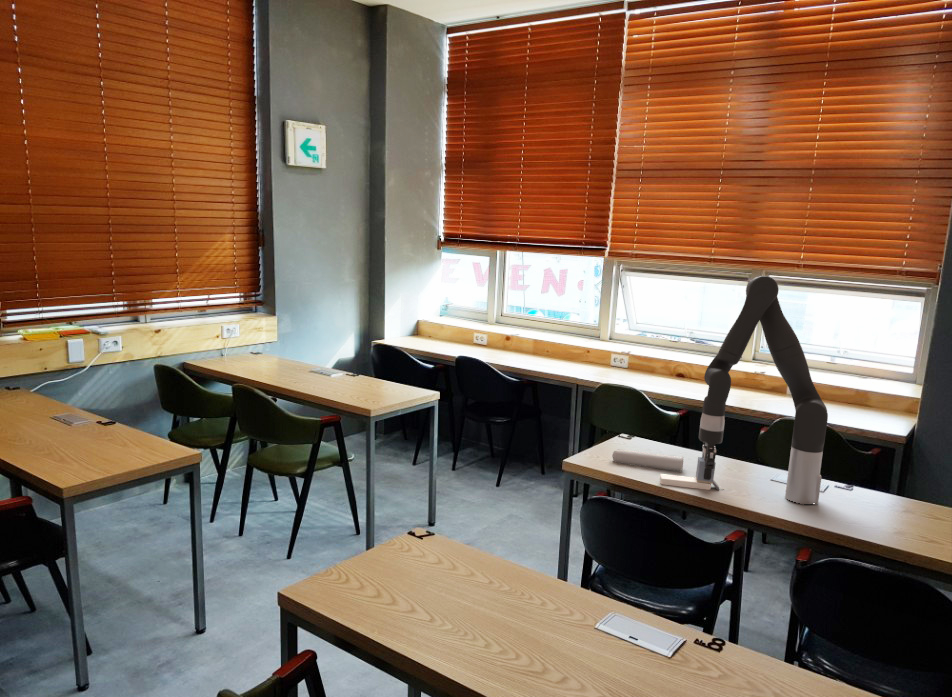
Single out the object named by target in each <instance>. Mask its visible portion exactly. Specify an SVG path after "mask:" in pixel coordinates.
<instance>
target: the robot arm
mask: <svg viewBox="0 0 952 697" xmlns="http://www.w3.org/2000/svg"><path fill="white" fill-rule="evenodd" d="M778 294H779V286H778V282H777V281H776V279H774V278H773V277H772V276H768V275H759V276H756V277H754V278H752V279H750V281H749V282H748V283H747V285H746V288H745V295H746V298H745V301H744V303H743V306H742V308H741V310H740V313H739V315H738V317H737V319H736V320H735V322H734V323H733V324H732V326H731V328H730V329H729V331H728V333H727V334H726V336H725V338H724V340H723V343H722V344H721V346H720V348H719V351H718V352H717V354H716V355H715V356H714V357H713V359H712V360H711V361H710V363H709V365H708V366H707V368H706V369H705V372H704V377H703V378H704V382H705V384H706V385H708V389H707V395H706V396H705V397H704V399H703V403H702V404H703V405H702V413H701V417H700V421H699V422H700V423H699V424H700V425H699V432H698V440H699V441H700V442H702V446H701V447H702V453H701V457H702V458H704V461H705V466H704V467H705V470H704V479H706V480H710V479H711V473H712V469H713V468H714V462H715V463H716V456H717V448H716V445H719V444H722V443H723V438H724V432H725V431H724V430H725V424H726V423H725V421H726V420H725V418H726V416H725V415H726V406H727V405H726V404H727V400H728V397H729V395H730V391H731V388H732V378H731V375H730V373H729V372H730V371H731V369H732V367H733V366H735V365H737V364H738V363H739V362H740V361H741V358H742V356H743V355H744V352H745V350H746V348H747V346H748V344H749V343H750V340H751V338H752V336H753V333H754V331H755V330H756V327H757V325H758V324H759V322H760V324H761V328H762V332H763V335H764V338H765V342H766V346H767V348H768V350H769V353H770V355H771V358H772V361H773V363H774V365H775V367H776V369H777V371H778V372H779V374H780V376H781V377H782V379H783V381H784V382H785V384H786V385H787V388H788V390H789V393H790V395H791V397H792V398H791V399H792V402H793V405H794V410H795V414H794V421H793V422H794V423H793V431H792V439H791V445H790V448H791V449H790V456H789V463H788V470H787V471H788V472H787V478H786V488H785V495H784V498H785V499H786V500H787V499H788V501H789V500H790V501H789V502H791V501H793V502H792V503H794V502H796V503H795V504H798V503H800V505H804V504H813V503H815V504H813V505H817V504H818V505H819V499H820V492H821V484H822V478H823V477H822V475H821V468H822V460H823V454H824V453H823V452H824V446H825V441H826V435H827V434H826V433H827V426H828V420H829V419H828V417H829V414H828V409H827V407H826V406H827V405H825V403H824V402H823V400H822V398H821V396H820V394H819V393H818V392H819V391H817V388H816V386H815V385H814V384H815V383H814V382H813V379H812V377H811V373H810V369H809V365H808V362H807V358H806V355H805V353H804V349H803V348H802V345H801V342H800V340H799V339H798V336H797V334H796V333H795V331H794V329H793V328H792V326H791V324H790V322H789V321H788V320H787V318H786V316H785V315H784V313H783V311H782V307H781V304H780V301H779V298H778ZM706 458H707V459H706ZM709 462H710V463H711V465H708V463H709Z"/></svg>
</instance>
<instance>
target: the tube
mask: <svg viewBox="0 0 952 697" xmlns="http://www.w3.org/2000/svg"><path fill="white" fill-rule="evenodd" d="M684 457H685V456H681V457H680V456H674V455H673V456H672V455H665V454H656V453H651V452H650V453H649V452H642V451H635V450H634V451H633V450H625V449H619V448H618V449H616V450H613V452H612V460H613V462H615V463H616V462H617V464H623V465H630V464H631V465H630V466H637V467H645V468H652V469H659V470H665V471H666V470H667V471H673V472H680V473H682V472H683V468H684Z"/></svg>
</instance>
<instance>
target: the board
mask: <svg viewBox="0 0 952 697" xmlns="http://www.w3.org/2000/svg"><path fill="white" fill-rule="evenodd" d="M659 482H660V485H662V486H663V485H666V486H674V487H681V488H693V489H698V490H699V489H700V490H709V491H710V490H711V488H712V487H711V485H712V484H711V483H704V482H697V480H696V477H693V476H682V475H676V474H675V475H674V474H664V473H660V474H659Z"/></svg>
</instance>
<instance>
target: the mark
mask: <svg viewBox="0 0 952 697" xmlns="http://www.w3.org/2000/svg"><path fill="white" fill-rule="evenodd" d="M712 485H713V486H714V487H715V488H716V490H717V491H719V490H721V489H719V487H720V486H719V485H718V484H717V482H716V481H715V480H714V479H713V484H712Z"/></svg>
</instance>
